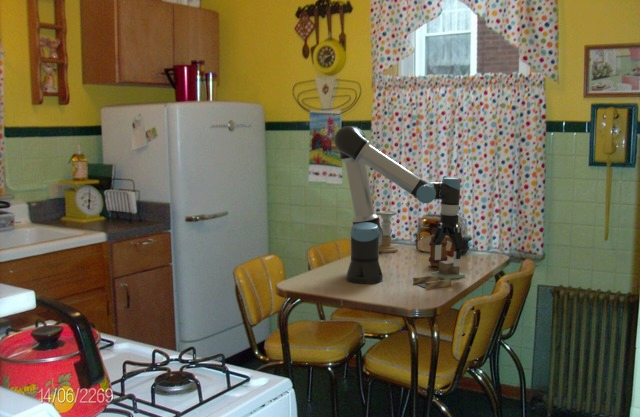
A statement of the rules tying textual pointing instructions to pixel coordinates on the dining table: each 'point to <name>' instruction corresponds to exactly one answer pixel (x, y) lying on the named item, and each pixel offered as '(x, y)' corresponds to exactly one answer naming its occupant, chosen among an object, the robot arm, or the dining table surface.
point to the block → (448, 268)
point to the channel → (431, 282)
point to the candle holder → (386, 232)
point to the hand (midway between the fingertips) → (446, 262)
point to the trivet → (448, 275)
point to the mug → (443, 251)
